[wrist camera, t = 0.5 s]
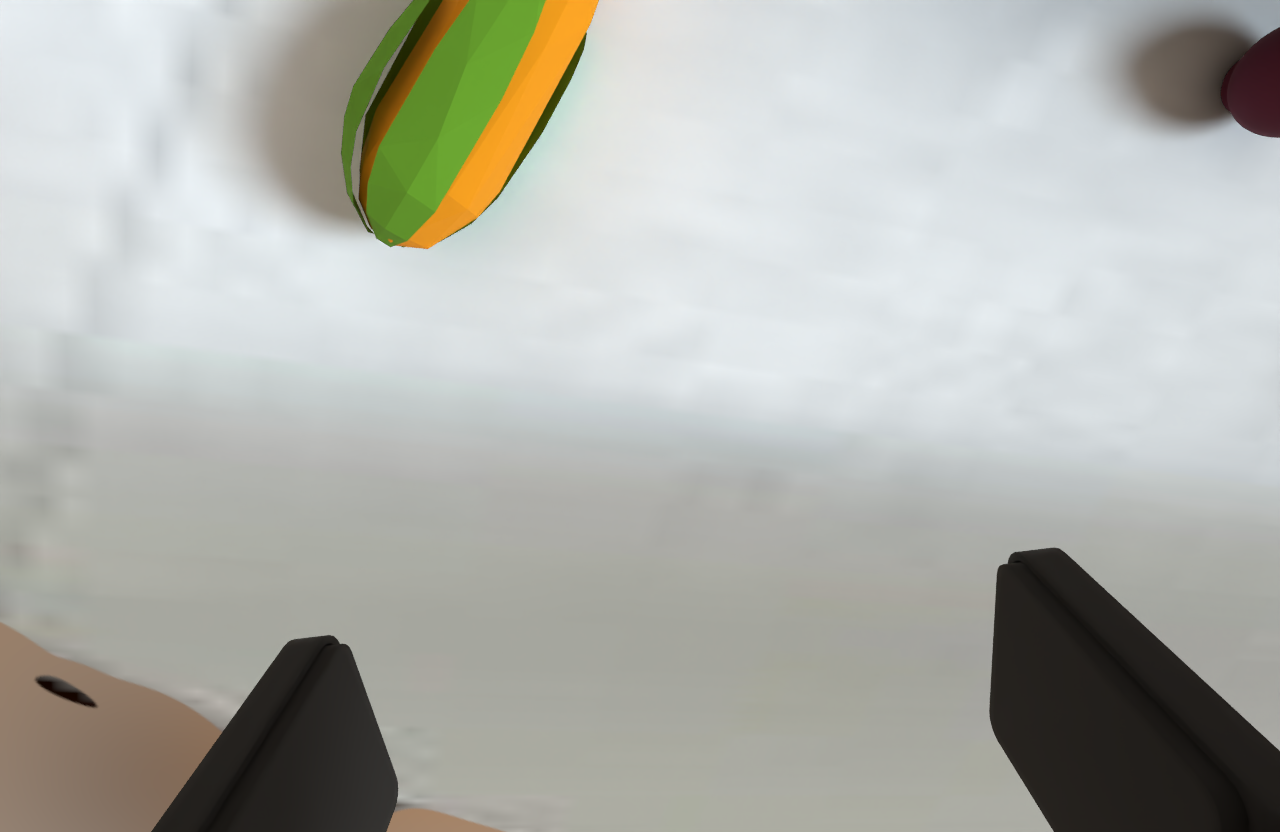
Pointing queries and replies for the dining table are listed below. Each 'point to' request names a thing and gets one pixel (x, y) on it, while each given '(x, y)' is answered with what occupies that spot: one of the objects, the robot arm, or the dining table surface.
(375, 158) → the corn
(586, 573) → the dining table surface
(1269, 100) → the mangosteen
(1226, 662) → the dining table surface
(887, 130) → the dining table surface
